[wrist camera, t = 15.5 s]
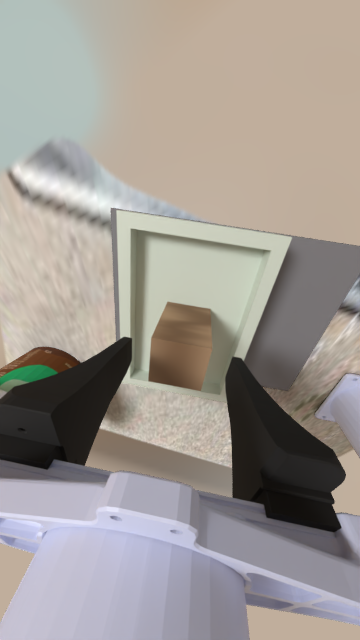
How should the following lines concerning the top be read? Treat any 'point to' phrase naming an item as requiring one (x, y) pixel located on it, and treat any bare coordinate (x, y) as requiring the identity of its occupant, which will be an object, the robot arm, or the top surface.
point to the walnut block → (181, 346)
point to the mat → (288, 305)
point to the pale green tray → (193, 287)
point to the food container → (34, 367)
